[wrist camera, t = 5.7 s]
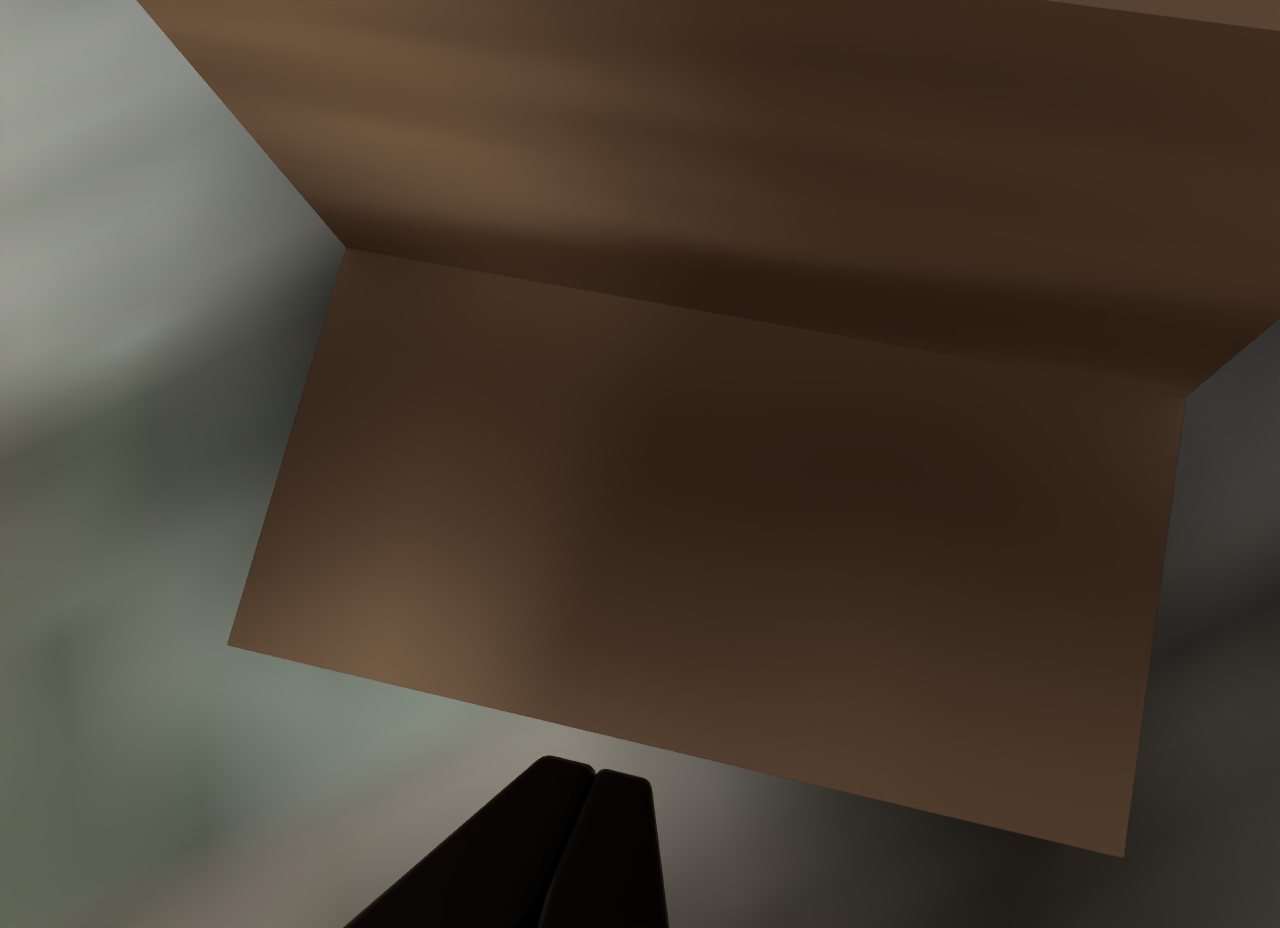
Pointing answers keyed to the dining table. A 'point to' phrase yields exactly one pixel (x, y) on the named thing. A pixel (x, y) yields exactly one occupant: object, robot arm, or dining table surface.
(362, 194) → the brown stepped block
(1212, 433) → the dining table surface
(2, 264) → the dining table surface
